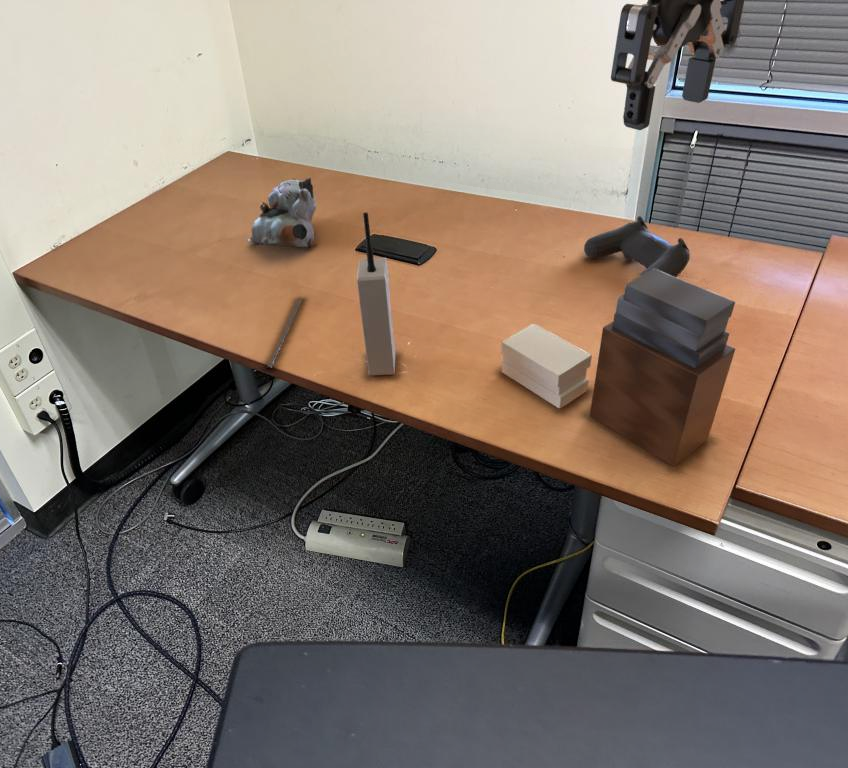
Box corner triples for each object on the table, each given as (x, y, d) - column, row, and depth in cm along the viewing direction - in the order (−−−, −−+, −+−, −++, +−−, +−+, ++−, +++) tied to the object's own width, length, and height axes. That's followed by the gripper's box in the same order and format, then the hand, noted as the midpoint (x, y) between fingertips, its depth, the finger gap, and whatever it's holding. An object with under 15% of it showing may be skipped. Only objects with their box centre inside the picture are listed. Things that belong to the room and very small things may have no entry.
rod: (302, 301, 119) (301, 297, 118) (272, 370, 105) (271, 367, 104) (298, 301, 119) (298, 297, 118) (267, 370, 105) (266, 366, 104)
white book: (590, 366, 90) (592, 354, 88) (557, 387, 87) (559, 375, 86) (532, 334, 96) (533, 322, 95) (500, 353, 94) (501, 341, 93)
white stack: (587, 390, 92) (590, 368, 89) (559, 409, 90) (562, 387, 87) (528, 356, 99) (530, 334, 96) (501, 372, 97) (502, 351, 94)
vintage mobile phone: (395, 354, 103) (381, 200, 87) (394, 375, 99) (379, 218, 83) (370, 355, 104) (352, 202, 88) (368, 376, 100) (349, 220, 84)
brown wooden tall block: (707, 440, 82) (750, 301, 70) (672, 467, 80) (710, 328, 67) (623, 392, 91) (647, 260, 78) (589, 415, 88) (609, 283, 75)
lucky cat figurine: (241, 240, 138) (248, 169, 134) (297, 247, 143) (306, 178, 139) (261, 250, 125) (270, 170, 121) (322, 256, 129) (333, 181, 126)
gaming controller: (656, 309, 107) (707, 265, 106) (646, 288, 103) (698, 242, 102) (587, 264, 120) (632, 223, 118) (576, 244, 116) (622, 201, 114)
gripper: (689, -78, 48) (651, 147, 59) (803, -114, 54) (750, 99, 64) (601, -80, 53) (580, 128, 64) (713, -112, 59) (677, 85, 69)
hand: (665, 113), depth 64 cm, fingers open, 8 cm apart
